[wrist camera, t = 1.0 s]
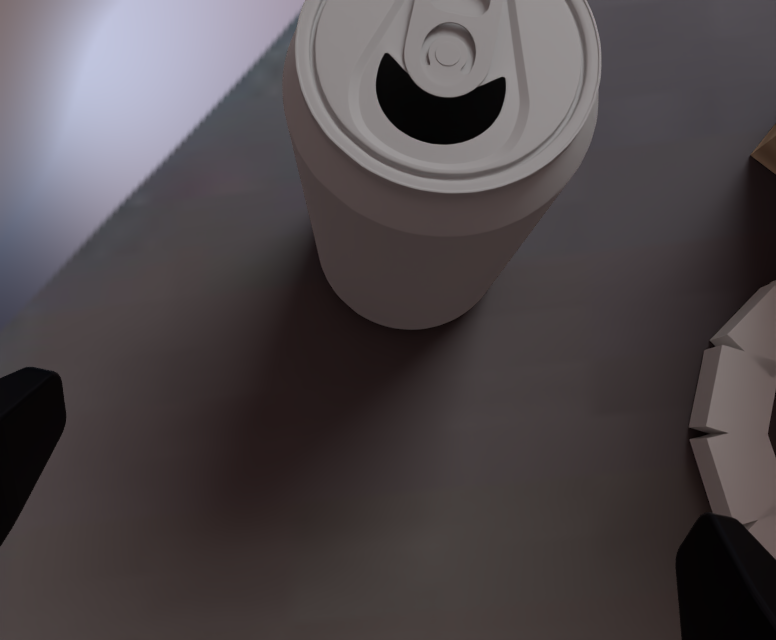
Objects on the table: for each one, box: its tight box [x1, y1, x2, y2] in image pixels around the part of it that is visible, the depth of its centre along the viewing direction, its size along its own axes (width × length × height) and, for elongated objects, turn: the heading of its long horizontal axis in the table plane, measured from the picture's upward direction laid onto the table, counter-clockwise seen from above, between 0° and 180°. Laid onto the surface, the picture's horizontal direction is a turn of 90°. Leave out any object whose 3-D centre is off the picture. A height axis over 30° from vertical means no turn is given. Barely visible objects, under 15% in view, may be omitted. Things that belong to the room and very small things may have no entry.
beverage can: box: [283, 0, 601, 330], centre depth 18 cm, size 6×6×12 cm
